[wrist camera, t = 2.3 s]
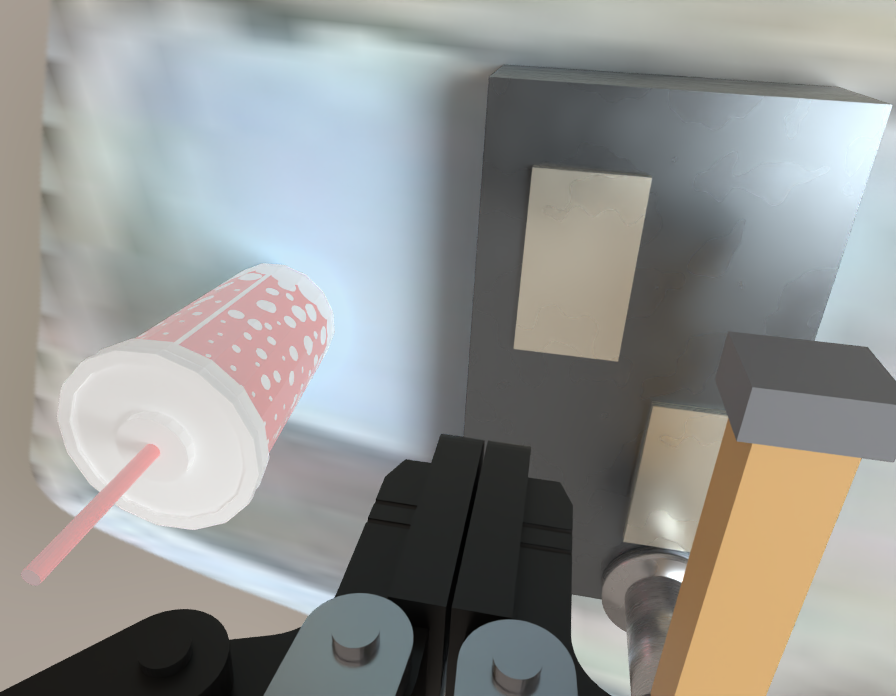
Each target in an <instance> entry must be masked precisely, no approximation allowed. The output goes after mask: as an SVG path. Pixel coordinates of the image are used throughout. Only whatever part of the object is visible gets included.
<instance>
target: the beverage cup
mask: <svg viewBox="0 0 896 696" xmlns="http://www.w3.org/2000/svg"><path fill="white" fill-rule="evenodd" d="M334 333H335V330H334V317H333V310H332V308H331V306H330V304H329V302H328V300H327V298H326V296H325V294H324V292H323V291H322V290H321V289H320V288H319V287H318V286H317V285H316V284H315V283H314V282H313V281H312V280H311V279H310V278H309V277H308V276H307V275H306V274H303V273H301V272H299V271H297V270H295V269H293V268H290V267H288V266H286V265H280V264H265V263H262V264H259V265H257V266H254V267H251V268H248V269H246V270H243V271H242V272H240V273H238V274H237V275H235V276H234V277H232V278H230V279H229V280H227V281H226V282H224V283H222V284H221V285H219V286H218V287H216V288H214V289H213V290H211V291H210V292H208V293H206V294H205V295H203V296H202V297H200V298H198V299H197V300H195V301H194V302H192V303H191V304H189V305H187V306H186V307H184V308H183V309H181V310H179V311H178V312H176V313H175V314H173V315H171V316H170V317H168V318H167V319H165V320H163V321H162V322H160V323H159V324H157V325H155V326H154V327H152V328H151V329H149V330H147V331H146V332H144V333H143V334H141V335H139V336H138V337H136V338H135V339H134V338H132V339H129V340H126V341H123V342H121V343H118V344H115V345H112V346H109V347H106V348H103V349H101V350H99V352H98V353H97V354H96V355H93V356H90V357H87V358H86V359H85V360H83V361H82V362H81V363H80V364H79V365H78V366H77V368H76V369H75V370H74V371H73V372H72V374H71V375H70V376H69V377H68V378H67V380H66V381H65V382H64V383H63V384H62V386H61V391H60V398H59V404H58V411H57V421H58V424H59V428H60V431H61V434H62V437H63V441H64V444H65V447H66V451H67V453H68V454H69V456H70V457H71V458H72V460H73V461H74V463H75V464H76V465H77V467H78V468H79V470H80V471H81V472H82V474H83V475H84V476H85V478H86V479H87V481H88V482H89V483H90V484H91V485H92V486H93V487H94V488H96V489H97V490H98V491H99V492H100V493H99V494H98V495H97V496H96V497H95V498H94V499H93V500H92V501H91V502H90V503H89V504H88V505H87V506H86V507H85V508H84V509H83V510H82V511H81V512H80V513H79V514H78V515H77V516H76V517H75V518H74V519H73V520H72V521H71V522H70V523H69V524H68V525H67V526H66V527H65V528H64V529H63V530H62V531H61V532H60V533H59V534H58V536H56V537H55V538H54V539H53V540H52V541H51V542H50V543H49V545H48V546H46V547H45V549H44V550H43V551H42V552H41V553H40V554H39V555H38V556H37V557H36V558H35V559H34V560H33V561H32V562H31V563H30V564H29V565H28V566H27V567H26V568H25V569H24V570H23V571H22V572H21V576H22V578H23V579H24V581H25V582H27V583H28V584H30V585H34V586H37V585H39V584H40V583H41V582H42V581H43V580H44V579H45V578H46V577H47V576H48V575H49V574H50V573H51V572H52V571H53V569H54V568H55V567H56V566H57V565H58V564H59V563H60V562H61V561H62V560H63V559H64V558H65V557H66V555H67V554H68V553H69V552H70V551H71V550H72V549H73V548H74V547H75V546H76V545H77V544H78V543H79V541H80V540H81V539H82V538H83V537H84V536H85V535H86V534H87V533H88V532H89V531H90V530H91V528H93V526H94V525H95V524H96V523H97V522H98V521H99V520H100V519H101V518H102V517H103V516H104V515H105V514H106V512H107V511H108V510H109V509H110V508H111V507H112V506H113V505H114V504H116V505H117V506H118V507H119V508H121V509H122V510H124V511H127V512H129V513H131V514H134V515H136V516H138V517H140V518H143V519H145V520H147V521H149V522H152V523H154V524H156V525H160V526H168V527H175V528H183V529H190V530H196V529H200V528H205V527H209V526H213V525H218V524H222V523H226V522H227V521H228V520H230V519H231V518H232V517H233V516H234V515H236V514H237V513H238V512H239V511H241V510H242V509H243V508H244V507H245V506H247V505H248V504H249V503H250V501H251V500H252V498H253V496H254V493H255V490H256V489H257V488H258V487H259V486H260V483H261V480H262V477H263V474H264V472H265V469H266V466H267V463H268V460H269V452H270V450H271V448H272V447H273V445H274V443H275V441H276V440H277V438H278V436H279V434H280V433H281V431H282V429H283V428H284V426H285V424H286V422H287V421H288V419H289V417H290V415H291V414H292V412H293V410H294V408H295V407H296V405H297V403H298V401H299V400H300V398H301V396H302V394H303V393H304V391H305V389H306V387H307V386H308V384H309V382H310V380H311V379H312V377H313V375H314V373H315V372H316V370H317V368H318V366H319V365H320V363H321V361H322V359H323V358H324V356H325V354H326V352H327V351H328V349H329V346H330V343H331V341H332V338H333V335H334Z"/></svg>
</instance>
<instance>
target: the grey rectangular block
mask: <svg viewBox="0 0 896 696" xmlns="http://www.w3.org/2000/svg"><path fill="white" fill-rule="evenodd" d="M891 108H892V104H889V103H886V102H883V101H880V100H877V99H874V98H871V97H868V96H865V95H862V94H859V93H855V92H852V91H849V90H846V89H843V88H840V87H832V86H817V85H802V84H787V83H772V82H757V81H742V80H727V79H712V78H697V77H683V76H668V75H653V74H638V73H623V72H608V71H593V70H578V69H563V68H548V67H533V66H518V65H503V66H502V67H501V68H499V69H498V70H497V71H496V72H494V73H493V74H492V75H491V76H489V84H488V98H487V113H486V127H485V141H484V155H483V169H482V184H481V198H480V212H479V226H478V240H477V255H476V269H475V283H474V297H473V311H472V325H471V340H470V354H469V368H468V382H467V396H466V411H465V425H464V437H467V438H474V439H481V440H485V448H484V455H485V451H486V446H487V442H488V440H489V441H496V442H503V443H510V444H517V445H524V446H531V454H530V463H529V472H528V477H529V478H536V479H543V480H549V481H556V482H560V483H561V485H562V486H563V488H564V490H565V492H566V494H567V495H568V497H569V499H570V501H571V503H572V504H573V530H572V594H573V595H579V596H585V597H591V598H597V599H602V604H603V608H604V610H605V612H606V614H607V615H608V617H609V618H610V619H611V621H612V622H613V623H614V624H615V625H617V626H618V627H619V628H621V629H622V630H624V631H626V632H627V643H628V657H629V672H630V686H631V696H642V695H645V694H649V693H651V689H652V686H653V682H654V679H655V675H656V672H657V668H658V665H659V661H660V658H661V654H662V650H663V647H664V643H665V640H666V636H667V633H668V629H669V626H670V622H671V619H672V615H673V612H674V608H675V604H676V601H677V597H678V594H679V590H680V587H681V583H682V580H683V576H684V573H685V569H686V566H687V562H688V559H689V555H690V551H691V548H692V544H693V541H694V537H695V534H696V530H697V527H698V523H699V520H700V516H701V513H702V509H703V506H704V502H705V498H706V495H707V491H708V488H709V484H710V481H711V477H712V474H713V470H714V467H715V463H716V460H717V456H718V453H719V449H720V445H721V442H722V438H723V435H724V431H725V428H726V424H727V421H728V415H727V413H726V410H725V407H724V404H723V401H722V398H721V396H720V393H719V390H718V387H717V384H716V381H715V378H716V374H717V370H718V367H719V363H720V359H721V355H722V351H723V348H724V344H725V340H726V336H727V333H728V331H730V332H739V333H748V334H757V335H765V336H774V337H783V338H792V339H801V340H809V341H814V340H815V337H816V334H817V331H818V328H819V325H820V322H821V319H822V316H823V313H824V310H825V307H826V304H827V301H828V298H829V295H830V292H831V289H832V286H833V283H834V280H835V277H836V274H837V271H838V268H839V265H840V262H841V259H842V256H843V253H844V250H845V247H846V244H847V241H848V238H849V235H850V232H851V229H852V226H853V223H854V220H855V217H856V214H857V211H858V208H859V205H860V202H861V199H862V196H863V193H864V190H865V187H866V184H867V181H868V178H869V175H870V172H871V169H872V166H873V163H874V160H875V157H876V154H877V151H878V148H879V145H880V141H881V138H882V135H883V132H884V129H885V126H886V123H887V120H888V117H889V114H890V111H891Z"/></svg>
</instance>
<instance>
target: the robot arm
mask: <svg viewBox="0 0 896 696" xmlns="http://www.w3.org/2000/svg"><path fill="white" fill-rule="evenodd" d="M484 448H485V440H481V439H474V438H467V437H460V436H453V435H446V434H441V436H440V438H439V441H438V444H437V447H436V450H435V453H434V456H433V459H432V462H431V463H427V462H420V461H413V460H407V459H405V460H404V461H403V462H402V463H401V464H400V465H398V466H397V467H396V468H395V469H394V470H393V471H391V472H390V473H389V474H388V475H387V476H386V477H385V479H384V481H383V483H382V486H381V488H380V491H379V493H378V495H377V498H376V502H375V504H374V505H373V507H372V510H371V512H370V515H369V517H368V522H367V523H366V524H365V527H364V529H363V531H362V534H361V536H360V539H359V541H358V543H357V546H356V548H355V551H354V553H353V555H352V558H351V560H350V563H349V565H348V567H347V570H346V572H345V575H344V577H343V579H342V582H341V584H340V586H339V589H338V591H337V594H336V595H335V597H334V598H333V599H331V600H328V601H327V602H325V603H323V604H321V605H320V606H319V607H317V608H316V609H315V610H314V611H313V612H312V613H311V614H310V615H309V616H308V617H307V619H306V620H305V622H304V623H303V625H302V627H300V628H297V629H295V630H292V631H289V632H286V633H282V634H276V635H270V636H260V637H251V638H242V639H233V640H229V638H228V634H227V632H226V630H225V628H224V626H223V625H222V624H221V623H220V622H219V621H218V620H217V619H216V618H214V617H213V616H211V615H209V614H207V613H204V612H201V611H197V610H189V609H180V610H171V611H165V612H162V613H159V614H155V615H153V616H150V617H148V618H146V619H144V620H142V621H140V622H138V623H136V624H134V625H132V626H130V627H128V628H126V629H124V630H122V631H120V632H118V633H116V634H114V635H112V636H110V637H108V638H106V639H104V640H102V641H100V642H98V643H96V644H94V645H92V646H91V647H88V648H87V649H84V650H82V651H81V652H79V653H77V654H75V655H73V656H71V657H69V658H67V659H65V660H63V661H61V662H59V663H57V664H55V665H53V666H51V667H49V668H47V669H45V670H43V671H41V672H39V673H37V674H35V675H33V676H31V677H29V678H27V679H25V680H23V681H21V682H19V683H18V684H15V685H14V686H12V687H10V688H8V689H6V690H4V691H2V692H0V696H444V695H445V696H611V695H609V694H608V693H607V692H605V691H604V690H603V689H601V688H600V687H599V686H598V685H597V684H596V683H595V682H594V681H592V680H591V679H590V677H589V676H588V675H587V674H586V672H585V671H584V670H583V668H582V667H581V665H580V664H579V662H578V660H577V658H576V656H575V653H574V650H573V646H572V642H571V596H572V530H573V504H572V503H571V501H570V499H569V497H568V495H567V494H566V492H565V490H564V488H563V486H562V485H561V483H560V482H556V481H549V480H543V479H536V478H529V477H528V472H529V463H530V454H531V446H524V445H517V444H510V443H503V442H496V441H489V440H488V442H487V446H486V451H485V455H484ZM445 690H446V691H445Z"/></svg>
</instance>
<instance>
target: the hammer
mask: <svg viewBox="0 0 896 696" xmlns="http://www.w3.org/2000/svg"><path fill="white" fill-rule="evenodd" d="M715 381H716V384H717V387H718V390H719V393H720V396H721V398H722V401H723V404H724V407H725V410H726V413H727V415H728V421H727V424H726V428H725V431H724V435H723V438H722V442H721V445H720V449H719V453H718V456H717V460H716V463H715V467H714V470H713V474H712V477H711V481H710V484H709V488H708V491H707V495H706V498H705V502H704V506H703V509H702V513H701V516H700V520H699V523H698V527H697V530H696V534H695V537H694V541H693V544H692V548H691V551H690V555H689V559H688V562H687V566H686V569H685V573H684V576H683V580H682V583H681V587H680V590H679V594H678V597H677V601H676V604H675V608H674V612H673V615H672V619H671V622H670V626H669V629H668V633H667V636H666V640H665V643H664V647H663V650H662V654H661V658H660V661H659V665H658V668H657V672H656V675H655V679H654V682H653V686H652V689H651V693H649V694H645V695H642V696H766V694H767V692H768V689H769V687H770V684H771V682H772V679H773V677H774V674H775V672H776V669H777V667H778V664H779V662H780V659H781V657H782V654H783V652H784V649H785V647H786V644H787V642H788V640H789V637H790V635H791V632H792V630H793V627H794V625H795V622H796V620H797V617H798V615H799V612H800V610H801V607H802V605H803V602H804V600H805V597H806V595H807V592H808V590H809V587H810V585H811V583H812V580H813V578H814V575H815V573H816V570H817V568H818V565H819V563H820V560H821V558H822V555H823V553H824V550H825V548H826V545H827V543H828V540H829V538H830V535H831V533H832V530H833V528H834V526H835V523H836V521H837V518H838V516H839V513H840V511H841V508H842V506H843V503H844V501H845V498H846V496H847V493H848V491H849V488H850V486H851V483H852V481H853V478H854V476H855V474H856V471H857V469H858V466H859V464H860V461H861V459H862V458H864V459H872V460H879V461H887V462H894V461H895V459H896V381H895V380H894V378H893V377H892V376H891V375H890V374H889V372H888V371H887V370H886V369H885V368H884V366H883V365H882V364H881V363H880V361H879V360H878V359H877V358H876V357H875V355H874V354H873V353H872V352H871V351H870V349H869V348H868V347H862V346H853V345H844V344H836V343H827V342H818V341H809V340H801V339H792V338H783V337H774V336H765V335H757V334H748V333H739V332H730V331H728V333H727V336H726V340H725V344H724V348H723V351H722V355H721V359H720V363H719V367H718V370H717V374H716V378H715Z"/></svg>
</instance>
